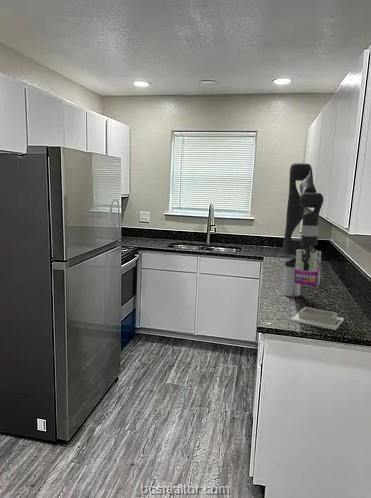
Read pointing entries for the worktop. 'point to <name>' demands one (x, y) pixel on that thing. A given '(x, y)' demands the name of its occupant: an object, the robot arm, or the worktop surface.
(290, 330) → the worktop surface
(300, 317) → the socket board
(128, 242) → the worktop surface
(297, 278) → the candy bar box
